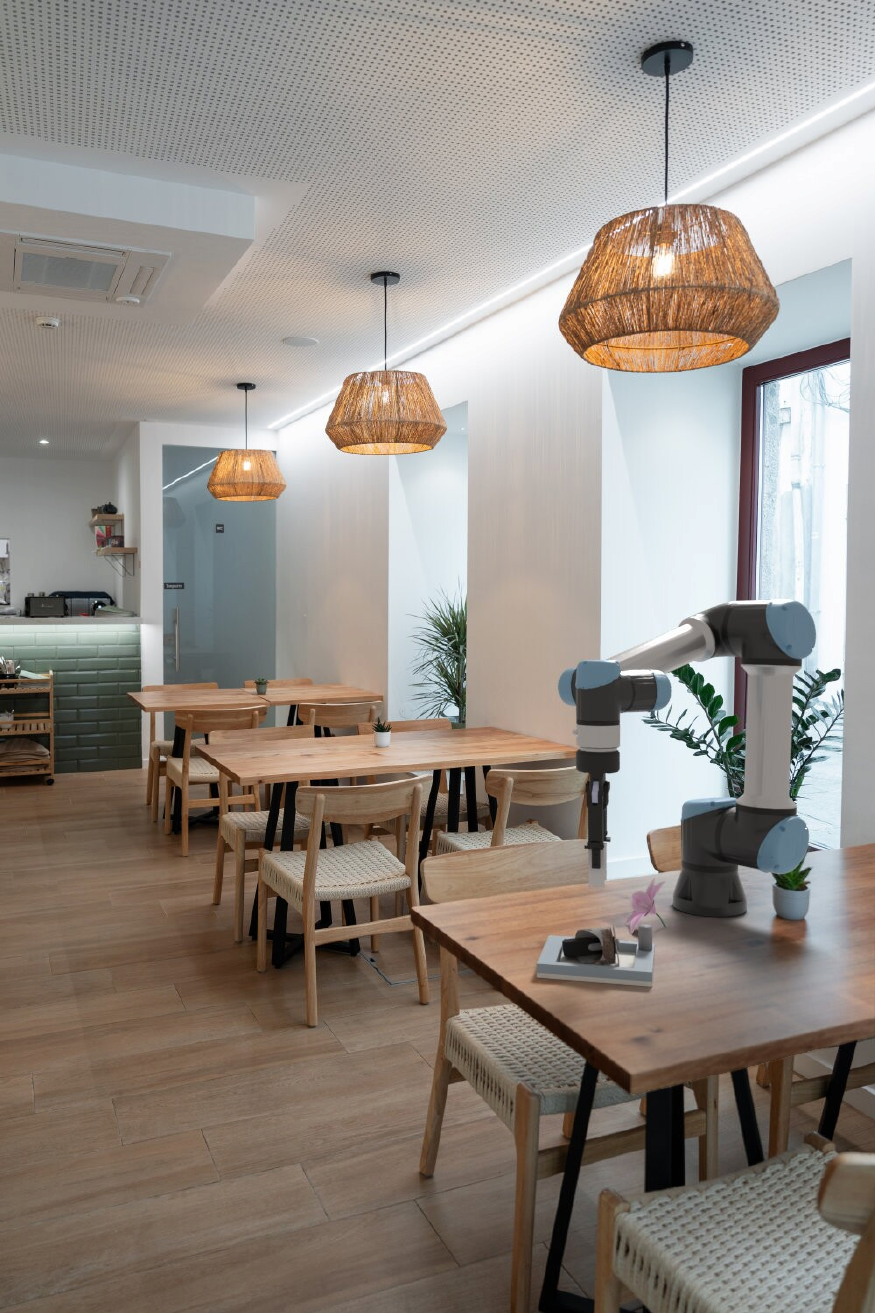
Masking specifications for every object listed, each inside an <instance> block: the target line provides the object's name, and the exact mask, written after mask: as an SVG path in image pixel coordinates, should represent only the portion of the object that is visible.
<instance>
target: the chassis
mask: <svg viewBox="0 0 875 1313" xmlns="http://www.w3.org/2000/svg"><path fill="white" fill-rule="evenodd" d="M637 928H638V929H637V930H638V932H637V933H638V935H637V936H638V939H637V941H635V940H634V941H633V940H624V939H623V940H622V939H621V940H619V939H618V940H619V943H620V950H618V955H619V965H618V959H617V954H616V953H615V955H616V964H610V965H590V964H581V963H580V961H579V959H578V957H577V956H573V957H570V956H564V954H563V947H562V941H563V940H567V939H572V938H575V936H565V935H563V936H562V935H550V934H549V935H548V937H547V939H546V942H545V944H544V946H543V948H542V950H541V952H540V955H539V957H538V959H537V962H536V978H539V979H540V978H541V979H551V980H563V981H565V980H566V981H575V982H577V981H578V982H589V983H599V984H600V983H601V984H613V985H624V986H637V987H650V988H652V987H653V983H654V982H653V980H654V966H655V952H656V951H655V942H653V926H652V925H651V924H639V925H637Z"/></svg>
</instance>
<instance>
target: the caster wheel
mask: <svg viewBox="0 0 875 1313" xmlns="http://www.w3.org/2000/svg"><path fill="white" fill-rule="evenodd" d="M612 930H613V931H612ZM574 937H575V938H572V939H567V940H563V941H562V947H563V954H564V956H570V957H573V956H577V957H578V959H579V961H580V963H581V964H590V965H610V964H616V955H615V953H616V954H617V959H618V965H619V955H618V950H620V943H619V938H617V937H616V929H615V924H614V923H612V927H611V926H603V927H594V928H585V929H578V930H577V931H576V933H575V936H574Z"/></svg>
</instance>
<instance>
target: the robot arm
mask: <svg viewBox="0 0 875 1313" xmlns="http://www.w3.org/2000/svg"><path fill="white" fill-rule="evenodd" d="M816 630H817V629H816V624H815V621H814V619H813V616H812V614H811V612H809V610H808V608H807V607H806V606H805V605H804V604H803V603H801V602H800V601H797V600H795V599H794V600H793V599H785V598H784V599H783V598H781V599H780V598H775V599H774V598H773V599H771V598H770V599H753V600H733V601H727V602H723V603H721V604H718V605H715V606H712V607H710V608H708V609H705V610H702V611H700V612H697V613H696V614H694V615H691V616H689V617H687V618H684V619H682V621H680V623H679V624H678V626H677V628H673V629H671V630H669V631H667V632H664V633H662V634H660V635H657V636H656V637H654V638H651V639H649V640H646V641H645V642H642V643H640V644H638V645H635V646H633V647H631V648H629V649H627V650H624V651H622V652H619V653H617V654H615V655H612V656H611V657H608V658H605V659H585V660H584V659H582V660H581V661H579V662H578V663H577V665H576V667H570V668H567V669H565V670H564V671H563V672H562V674H561V675H560V677H559V679H558V682H557V691H558V695H559V698H560V699H561V701H562V702H563V703H565V704H566V705H567V706H571V707H575V714H576V716H575V717H576V718H575V719H576V720H575V721H576V722H575V723H576V728H574V729H573V731H572V734H573V735H574V736H576V735H577V736H576V739H575V742H576V743H575V744H576V746H577V748H579V749H577V750H576V751H575V769H576V771H578V772H579V773H582V774H589V780H587V781H586V782H585V789H584V790H585V793H586V808H587V842H586V845H585V844H584V846H583V847H584V848H583V849H585V850H588V852H587V853H588V858H587V859H588V868H587V870H588V871H587V872H588V877H587V878H588V879H587V880H588V882H587V884H588V887H591V888H605V886H606V884H605V882H606V881H607V880H608V870H607V868H608V864H607V862H608V860H607V859H608V857H607V856H608V855H607V854H608V853H607V851H608V850H607V849H608V848H607V847H608V843H611V840H612V839H611V836H608V834H609V833H608V832H609V831H608V806H609V802H610V801H609V800H610V799H609V797H610V796H609V793H610V790H611V789H610V788H611V783H610V782H611V781H608V780H606V779H607V778H606V776H607V774H610V775H611V774H615V773H618V772H619V771H620V770H621V769H620V768H621V766H620V765H621V758H620V756H621V753H620V751H619V750H618V748H619V747H621V714H623V713H642V712H643V713H644V712H647V713H652V712H653V711H654V712H655V711H660V710H663V709H664V708H666V707H667V705H668V704H669V703H670V700H671V698H672V692H673V690H672V683H671V680H670V679H669V677H668V674H669V673H671V672H673V671H675V670H677V669H679V668H682V667H684V666H686V665H688V664H690V663H692V662H696V663H703V662H706V661H708V660H710V659H714V658H721V657H722V658H724V657H729V658H730V657H735V658H737V657H738V658H740V667H741V668H742V669H743V670H744V671H745V672H746V674H747V675H748V676H747V700H746V701H747V702H746V703H747V704H746V727H745V730H746V731H745V757H744V781H743V782H744V788H743V793H742V795H741V796H740V797H738V798H735V797H729V796H728V797H727V796H725V797H724V796H722V797H705V798H695V799H690V800H687V801H685V802H684V804H683V805H682V807H681V818H680V852H681V853H680V856H681V857H680V858H681V864H680V865H681V866H680V869H681V870H680V873H679V874H678V875H679V876H678V878H677V881H676V883H675V884H676V885H675V887H674V890H673V894H672V906H673V908H675V909H676V910H678V911H680V912H684V913H686V914H691V915H696V916H703V917H717V918H718V917H721V918H723V917H735V916H738V915H743V914H744V913H746V912H747V909H748V901H747V896H746V893H745V888H744V886H743V883H742V879H741V877H740V874H739V867H740V866H741V867H746V868H749V869H754V870H758V871H760V872H762V873H765V874H766V873H772V874H777V875H784V874H789V873H790V872H792V871H794V870H795V869H797V867H798V866H799V865H800V863H801V862H802V861H803V859H804V857H805V856H806V853H807V850H808V846H809V842H810V833H809V832H810V831H809V827H807V823H806V821H805V820H803V819H802V818H801V817H799V816H798V815H797V812H798V806H797V803H795V802H794V801H793V799H792V798H791V797H790V787H791V786H790V782H791V781H790V780H791V779H790V778H791V757H792V756H791V753H792V752H791V751H792V725H793V724H792V723H793V721H792V720H793V701H794V700H793V699H794V698H793V694H794V677H795V675H796V674H797V673H798V672H799V671H800V670H801V669H803V668H802V667H803V659H805V658H808V657H809V656H810V655H811V654H812V652H813V649H814V648H815V645H816V640H817V631H816ZM771 857H772V858H771Z"/></svg>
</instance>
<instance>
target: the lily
mask: <svg viewBox="0 0 875 1313" xmlns="http://www.w3.org/2000/svg"><path fill="white" fill-rule="evenodd" d="M655 882H656V878H653V879H652V881H651V882H650V883H649V885H648V886H647V888H646V890H645V891H643V890H640V891H635V892H633V893H631V895H630V900H629V902H630V906H631V909H632V910H633V911H632V912H631V913H630V914H629V916H628V917H627V919H626V921H625V923H624V924H625V925H628V924H630V925H629V926H630V927H629V929H630V930H629V932H630V935H633V933H634V931H635V930H636V928H637V927H638V924H640V921H641V920H642V918H643V917H646V916H647V917H649V916H655V915H656V916H657V917H658V918H659V920H660V921H661V923H662V925H663V927H664V928H667V925H666V924H665V922H664V920H663V919H662V918H661V916H660V914H659V913H657V909H656V904H655V899H656V896H657V895H658V893H659V892H660V890H661V889H662V888H663V887H664V885H665V884H666V881H661V882H658V883H657V884H655Z"/></svg>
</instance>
